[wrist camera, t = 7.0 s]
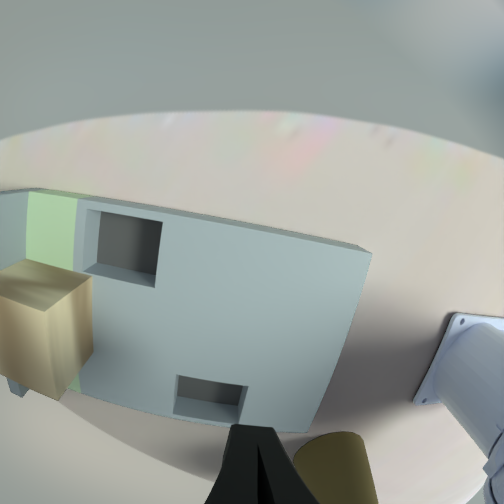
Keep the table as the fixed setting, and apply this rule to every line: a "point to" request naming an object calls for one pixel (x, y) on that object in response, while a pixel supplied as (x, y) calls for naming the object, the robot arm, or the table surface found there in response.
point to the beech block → (44, 325)
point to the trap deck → (195, 306)
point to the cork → (337, 469)
